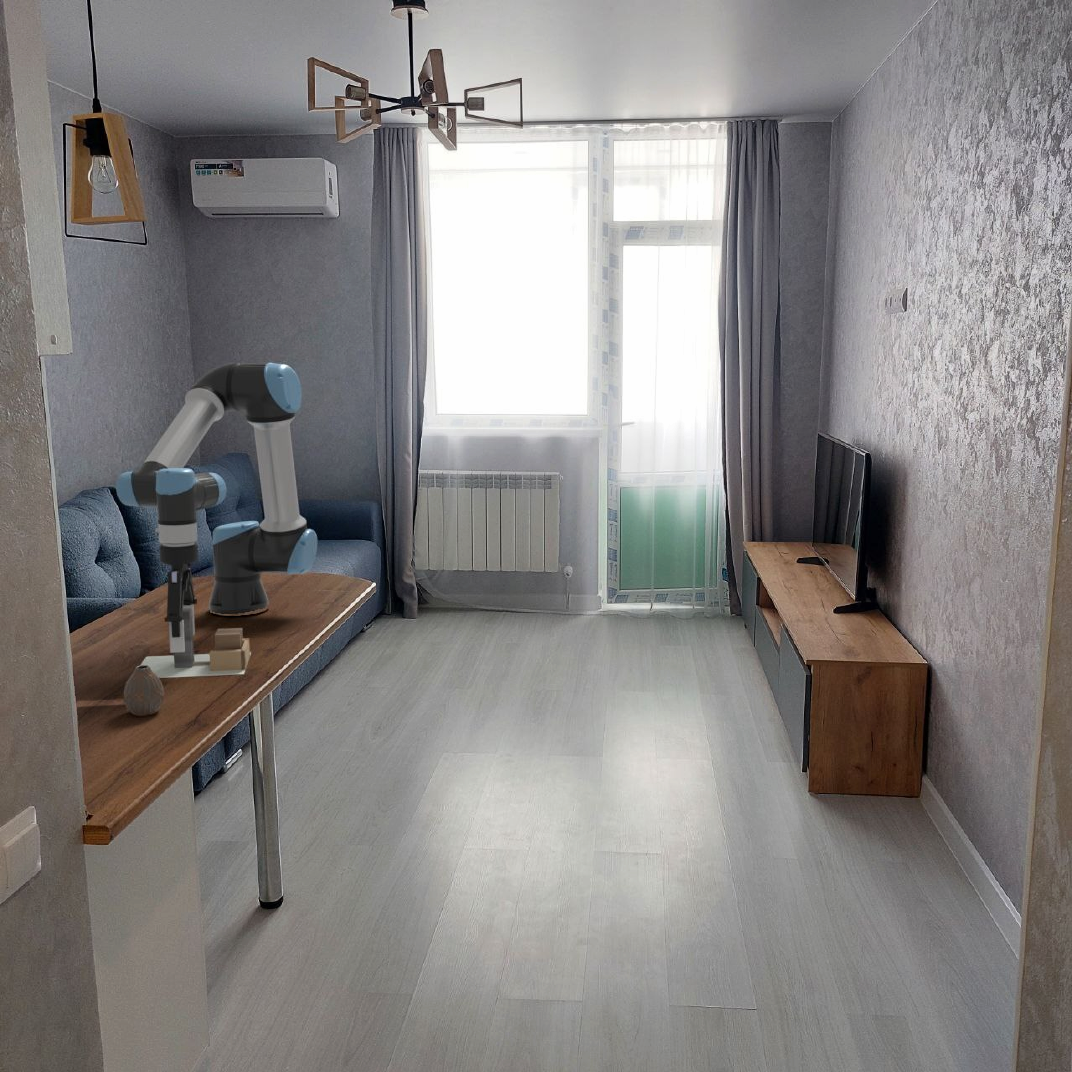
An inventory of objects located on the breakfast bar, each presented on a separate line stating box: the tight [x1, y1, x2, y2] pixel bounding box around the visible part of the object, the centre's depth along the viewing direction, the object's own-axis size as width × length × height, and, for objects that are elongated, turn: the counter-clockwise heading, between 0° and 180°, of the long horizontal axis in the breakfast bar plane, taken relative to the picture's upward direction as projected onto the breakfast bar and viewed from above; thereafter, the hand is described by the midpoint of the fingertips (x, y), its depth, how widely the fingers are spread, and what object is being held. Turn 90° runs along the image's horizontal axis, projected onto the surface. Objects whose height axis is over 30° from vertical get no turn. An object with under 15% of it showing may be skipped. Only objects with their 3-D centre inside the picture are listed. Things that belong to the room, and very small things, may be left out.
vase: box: [123, 664, 165, 717], centre depth 184 cm, size 7×7×9 cm
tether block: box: [173, 608, 244, 668], centre depth 210 cm, size 5×14×12 cm, turn 101°
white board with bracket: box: [139, 637, 252, 679], centre depth 211 cm, size 16×22×5 cm
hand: (183, 643), depth 210 cm, fingers open, 13 cm apart
